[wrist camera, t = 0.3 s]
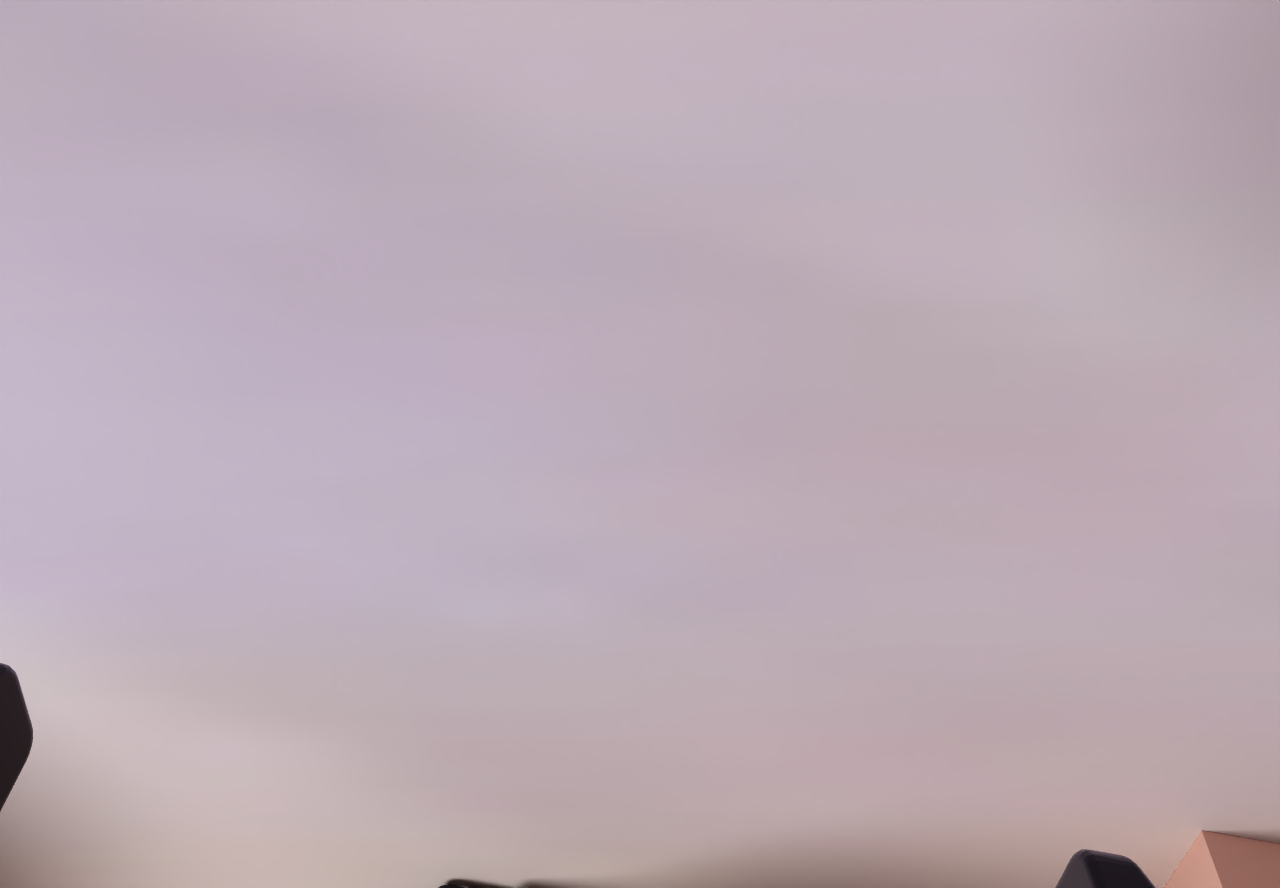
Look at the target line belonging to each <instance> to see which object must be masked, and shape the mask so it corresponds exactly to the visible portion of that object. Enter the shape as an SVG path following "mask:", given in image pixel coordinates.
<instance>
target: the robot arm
mask: <svg viewBox="0 0 1280 888" xmlns="http://www.w3.org/2000/svg"><path fill="white" fill-rule="evenodd" d="M32 741H33V728H32V724H31V720H30V717H29V714H28V710H27V707H26V704H25V700H24V697H23V693H22V690H21V687H20V683H19V680H18V677H17V675H16V672H15V671H14V670H13V669H12V668H11V667H10V666H8V665H6V664H2V663H0V811H1V809H2V807H3V805H4V803H5V801H6V799H7V798H8V796H9V794H10V792H11V790H12V788H13V786H14V784H15V782H16V780H17V778H18V776H19V774H20V772H21V770H22V768H23V766H24V764H25V762H26V760H27V758H28V756H29V753H30V750H31V746H32ZM439 888H463V887H458V886H453V885H443V886H440V887H439ZM1056 888H1155V886H1154V885H1153V884H1152V883H1151V881H1150V880H1149V879H1148V878H1147V876H1146V875H1145V874H1144V872H1143V871H1142V870H1141V869H1140V868H1139V866H1138V865H1137V864H1136V863H1134V862H1133V861H1132V860H1131V859H1129V858H1127V857H1124V856H1121V855H1116V854H1111V853H1105V852H1099V851H1093V850H1080V851H1078V852H1077V853H1075V854H1074V855H1073V857H1072V858H1071V859H1070V861H1069V863H1068V865H1067V867H1066V869H1065V871H1064V873H1063V875H1062V876H1061V878H1060V880H1059V882H1058V884H1057V886H1056Z"/></svg>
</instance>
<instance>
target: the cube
mask: <svg viewBox="0 0 1280 888" xmlns="http://www.w3.org/2000/svg"><path fill="white" fill-rule="evenodd" d="M1164 888H1280V844H1275V843H1269V842H1264V841H1258V840H1253V839H1247V838H1241V837H1236V836H1230V835H1224V834H1219V833H1213V832H1208V831H1201V832H1200V834H1199V835H1198V837H1197V838H1196V840H1195V841H1194V843H1193V844H1192V846H1191V847H1190V849H1189V850H1188V852H1187V854H1186V855H1185V857H1184V858H1183V860H1182V861H1181V863H1180V864H1179V866H1178V867H1177V869H1176V870H1175V872H1174V873H1173V875H1172V877H1171V878H1170V880H1169V881H1168V883H1167V884H1166V886H1165V887H1164Z"/></svg>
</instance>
